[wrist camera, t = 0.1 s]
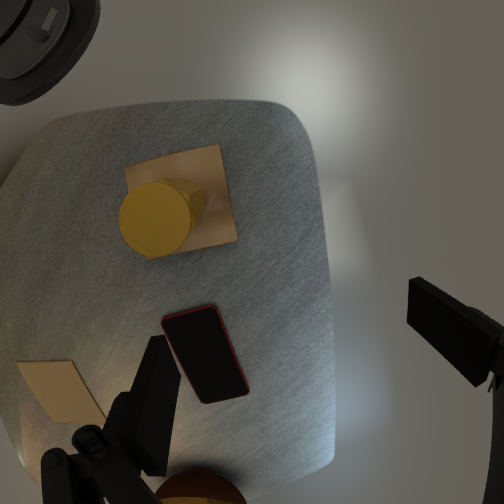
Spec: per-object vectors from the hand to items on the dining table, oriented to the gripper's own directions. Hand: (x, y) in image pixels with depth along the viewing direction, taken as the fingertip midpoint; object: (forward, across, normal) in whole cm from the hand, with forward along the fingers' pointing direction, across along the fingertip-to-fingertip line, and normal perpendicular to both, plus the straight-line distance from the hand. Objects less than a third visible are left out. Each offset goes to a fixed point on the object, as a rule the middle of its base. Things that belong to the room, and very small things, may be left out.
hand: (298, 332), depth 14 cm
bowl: (+20, -19, -44) cm, 52 cm away
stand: (+20, -7, +6) cm, 22 cm away
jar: (+17, -7, +6) cm, 19 cm away
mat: (+20, -37, -19) cm, 46 cm away
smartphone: (+20, -9, -14) cm, 26 cm away
